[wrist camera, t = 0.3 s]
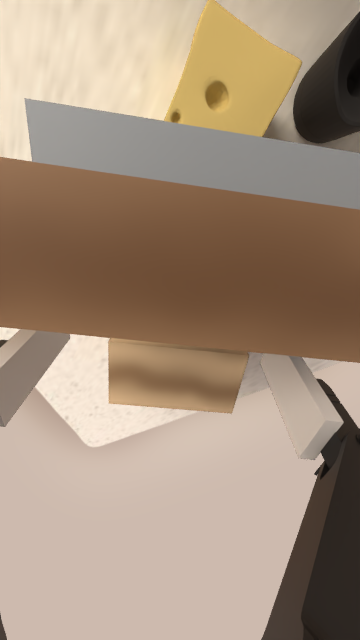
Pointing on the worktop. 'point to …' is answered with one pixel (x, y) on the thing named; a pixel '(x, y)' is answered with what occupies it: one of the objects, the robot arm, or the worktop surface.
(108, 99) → the worktop surface
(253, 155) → the slate-grey stand
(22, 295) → the walnut block
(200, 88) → the cheese
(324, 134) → the pen holder
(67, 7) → the worktop surface
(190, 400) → the oak block
